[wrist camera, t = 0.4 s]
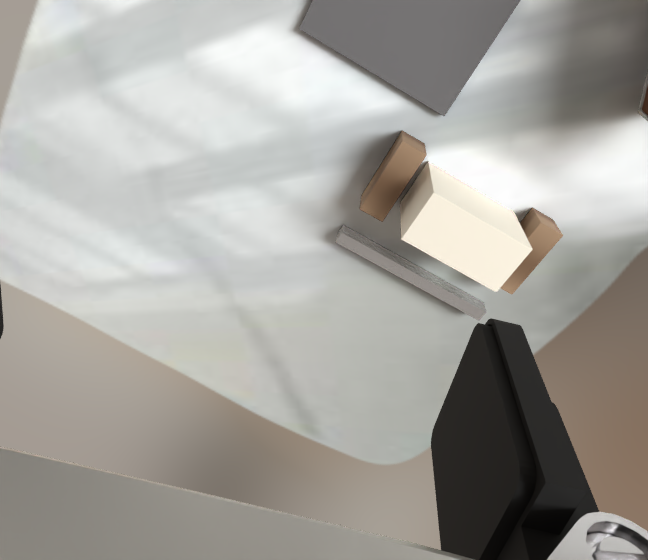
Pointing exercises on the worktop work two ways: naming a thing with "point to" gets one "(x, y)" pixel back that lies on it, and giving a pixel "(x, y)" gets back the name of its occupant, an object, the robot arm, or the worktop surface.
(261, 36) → the worktop surface
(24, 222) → the worktop surface
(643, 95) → the food container
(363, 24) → the mat
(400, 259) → the blocks
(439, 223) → the cream cuboid
